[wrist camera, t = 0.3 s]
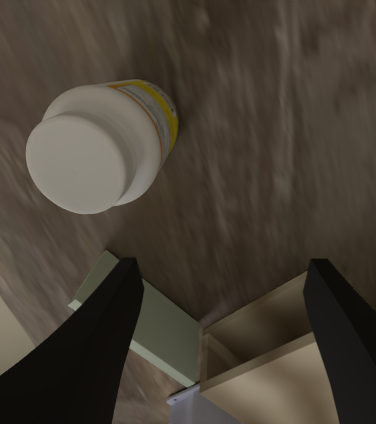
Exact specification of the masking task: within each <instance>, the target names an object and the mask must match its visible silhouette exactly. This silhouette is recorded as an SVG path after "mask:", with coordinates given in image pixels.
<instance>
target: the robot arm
mask: <svg viewBox="0 0 376 424" xmlns="http://www.w3.org/2000/svg"><path fill="white" fill-rule="evenodd" d="M144 289H145V288H144V285H143V281H142V277H141V274H140V270H139V267H138V263H137V260H136V258H122V259H121V260H120V261H119V262H118V263H117V264H116V266H115V267H114V268H113V269H112V270H111V272H110V273H109V274H108V275H107V276H106V278H105V279H104V280H103V281H102V282H101V284H100V285H99V286H98V287H97V288H96V289H95V290H94V292H93V293H92V294H91V295H90V296H89V297H88V298H87V299H86V301H85V302H84V303H83V304H82V305H81V306H80V307H79V308H78V309H77V310H76V311H75V312H74V313H73V314H72V315H71V316H70V317H69V318H68V319H67V320H66V321H65V322H64V323H63V324H62V325H61V326H60V327H59V328H58V329H57V330H56V331H55V332H53V333H52V334H51V335H50V336H49V337H48V338H47V339H46V340H45V341H43V342H42V343H41V344H40V345H39V346H37V347H36V348H35V349H34V350H33V351H31V352H30V353H29V354H28V355H27V356H25V357H24V358H23V359H22V360H20V361H19V362H18V363H17V364H15V365H14V366H13V367H11V368H10V369H8V370H7V371H6V372H4V373H3V374H2V375H1V376H0V424H112V419H113V414H114V409H115V403H116V398H117V394H118V389H119V384H120V379H121V375H122V371H123V367H124V363H125V360H126V357H127V354H128V350H129V347H130V344H131V341H132V337H133V334H134V331H135V328H136V324H137V321H138V318H139V315H140V311H141V306H142V301H143V295H144ZM303 296H304V301H305V306H306V311H307V315H308V319H309V322H310V325H311V328H312V331H313V334H314V337H315V340H316V343H317V346H318V349H319V352H320V355H321V358H322V361H323V364H324V367H325V370H326V373H327V376H328V379H329V383H330V386H331V390H332V394H333V398H334V403H335V407H336V411H337V415H338V420H339V424H376V312H375V311H374V310H373V309H372V308H371V307H370V305H369V304H368V303H367V302H366V301H365V300H364V299H363V298H362V297H361V296H360V295H359V294H358V293H357V292H356V291H355V290H354V288H353V287H352V286H351V285H350V284H349V283H348V282H347V281H346V280H345V278H344V277H343V276H342V275H341V274H340V273H339V272H338V270H337V269H336V268H335V267H334V266H333V265H332V264H331V262H330V261H329V260H328V259H311V260H310V264H309V268H308V272H307V276H306V280H305V285H304V289H303ZM199 388H200V383H198V384H196V385H194V386H192V387H190V388H188V389H185V390H183V391H181V392H179V393H177V394H175V395H173V396H170V397H168V398H167V401H166V402H167V403H168V404H169V405H171V408H170V415H169V422H168V424H243V423H241V422H240V421H238V420H237V419H235V418H234V417H233V416H231V415H230V414H228V413H227V412H225V411H224V410H222V409H221V408H220V407H218V406H217V405H215V404H214V403H212V402H211V401H209V400H208V399H207V398H205V397H204V396H202V395H201V394H199Z"/></svg>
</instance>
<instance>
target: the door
mask: <svg viewBox="0 0 376 424" xmlns="http://www.w3.org/2000/svg"><path fill="white" fill-rule="evenodd" d="M119 261H120V260H119V259H117V258H116V257H115V256H114V255H112V254H111V253H110V252H108V251H107V250H106V251H105V252H103V253H102V254H101V255H100V256H99V258H98V260H97V261H96V263H95V264H94V266H93V267H92V269H91V270H90V272H89V274H88V275H87V277H86V278H85V280H84V281H83V283H82V285H81V286H80V288H79V289H78V291H77V292H76V294H75V295H74V297H73V299H72V300H71V302H70V303H69V305H68V306H69V307H71V308H72V309H74V310H75V311H76V310H77V309H78V308H79V307H80V306H81V305H82V304H83V303H84V302H85V301H86V299H87V298H88V297H89V296H90V295H91V294H92V293H93V292H94V290H95V289H96V288H97V287H98V286H99V285H100V284H101V282H102V281H103V280H104V279H105V278H106V276H107V275H108V274H109V273H110V272H111V270H112V269H113V268H114V267H115V266H116V264H117V263H118V262H119ZM142 281H143V285H144V288H145V289H144V295H143V301H142V306H141V311H140V315H139V318H138V321H137V324H136V328H135V331H134V334H133V337H132V341H131V344H130V347H129V348H130V349H132V350H133V351H135V352H136V353H138V354H139V355H141V356H142V357H143V358H145V359H146V360H148V361H149V362H151V363H152V364H154V365H155V366H157V367H158V368H159V369H161V370H162V371H164V372H165V373H167V374H168V375H170V376H171V377H173V378H174V379H175V380H177V381H178V382H180V383H181V384H183V385H184V386H186V387H189V386H191V385H193V384H195V382H196V369H197V356H198V344H199V331H200V324H199V323H198V322H197V321H195V320H194V319H193V318H192V317H190V316H189V315H188V314H187V313H185V312H184V311H183V310H182V309H180V308H179V307H178V306H177V305H175V304H174V303H173V302H172V301H170V300H169V299H168V298H166V297H165V296H164V295H163V294H161V293H160V292H159V291H158V290H156V289H155V288H154V287H153V286H151V285H150V284H149V283H148V282H146V281H145V280H144V279H143V278H142Z"/></svg>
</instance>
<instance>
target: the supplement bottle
mask: <svg viewBox="0 0 376 424" xmlns="http://www.w3.org/2000/svg"><path fill="white" fill-rule="evenodd" d="M178 132H179V118H178V113H177V110H176V107H175V105H174V103H173V101H172V100H171V98H170V97H169V96H168V94H167V93H166V92H165V91H164V90H163V89H161V88H160V87H159V86H157V85H155V84H153V83H151V82H149V81H145V80H140V79H131V80H123V81H115V82H108V83H100V84H93V85H85V86H80V87H76V88H73V89H70V90H68V91H66V92H65V93H63V94H61V95H60V96H59V97H57V98H56V99H55V100H54V101H53V102H52V103H51V105H50V106H49V107H48V109H47V111H46V113H45V115H44V117H43V120H42V122H41V123H40V124H38V125H37V126H36V127H35V129H34V130H33V131H32V133H31V134H30V136H29V138H28V142H27V146H26V161H27V166H28V169H29V172H30V175H31V177H32V179H33V181H34V182H35V184H36V186H37V187H38V188H39V190H40V191H41V192H42V193H43V194H44V195H45V196H46V197H47V198H48V199H50V200H51V201H52V202H53V203H55V204H56V205H58V206H60V207H62V208H64V209H66V210H68V211H72V212H75V213H80V214H95V213H99V212H102V211H105V210H107V209H109V208H110V207H112V206H117V205H122V204H126V203H128V202H131V201H133V200H135V199H137V198H138V197H140V196H141V195H142V194H143V193H144V192H146V191H147V190H148V188H149V187H150V186H151V184H152V183H153V181H154V180H155V178H156V176H157V174H158V172H159V171H160V169H161V167H162V165H163V164H164V162H165V160H166V158H167V156H168V155H169V153H170V151H171V149H172V148H173V146H174V144H175V142H176V139H177V136H178Z"/></svg>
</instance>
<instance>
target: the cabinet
mask: <svg viewBox="0 0 376 424" xmlns="http://www.w3.org/2000/svg"><path fill="white" fill-rule="evenodd" d="M307 272H308V271H306V272H304V273H302V274H301V275H299V276H297V277H295V278H293V279H292V280H290V281H288V282H286V283H285V284H283V285H281V286H279V287H278V288H276V289H274V290H272V291H271V292H269V293H267V294H265V295H264V296H262V297H260V298H258V299H257V300H255V301H253V302H251V303H249V304H248V305H246V306H244V307H242V308H241V309H239V310H237V311H235V312H234V313H232V314H230V315H228V316H227V317H225V318H223V319H221V320H220V321H218V322H216V323H214V324H213V325H211V326H209V327H207V328H205V329H204V330H203V341H202V357H201V373H200V388H199V394H201V395H202V396H204V397H205V398H207V399H208V400H209V401H211V402H212V403H214V404H215V405H217V406H218V407H220V408H221V409H222V410H224V411H225V412H227V413H228V414H230V415H231V416H233V417H234V418H235V419H237V420H238V421H240V422H241V423H243V424H339V420H338V415H337V411H336V407H335V403H334V398H333V394H332V390H331V386H330V383H329V379H328V376H327V373H326V370H325V367H324V364H323V361H322V358H321V355H320V352H319V349H318V346H317V343H316V340H315V337H314V334H313V331H312V328H311V325H310V322H309V319H308V315H307V311H306V306H305V301H304V296H303V289H304V285H305V280H306V276H307Z"/></svg>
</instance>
